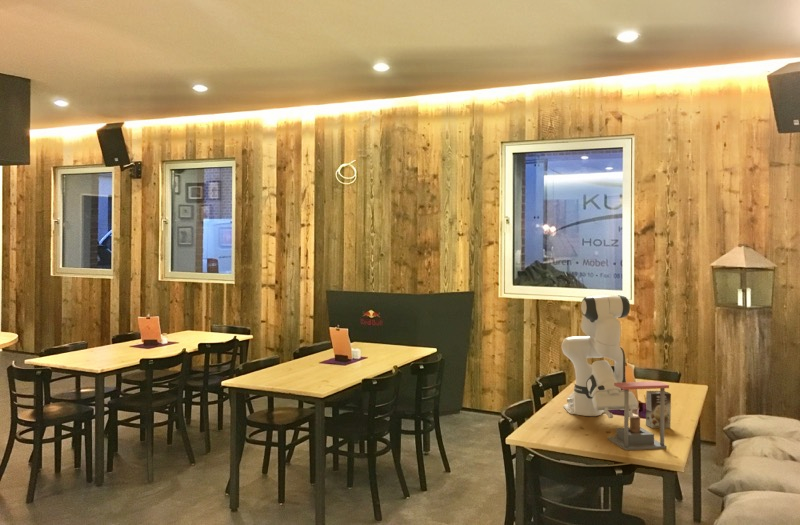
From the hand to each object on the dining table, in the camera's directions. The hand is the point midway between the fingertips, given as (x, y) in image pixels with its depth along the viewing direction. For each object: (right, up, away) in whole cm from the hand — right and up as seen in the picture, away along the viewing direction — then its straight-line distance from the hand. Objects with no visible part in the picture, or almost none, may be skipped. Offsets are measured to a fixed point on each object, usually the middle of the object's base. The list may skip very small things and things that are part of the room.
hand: (621, 417), depth 273 cm
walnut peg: (+2, -7, -12) cm, 14 cm away
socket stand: (+2, -8, -13) cm, 15 cm away
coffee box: (+22, -8, +14) cm, 27 cm away
